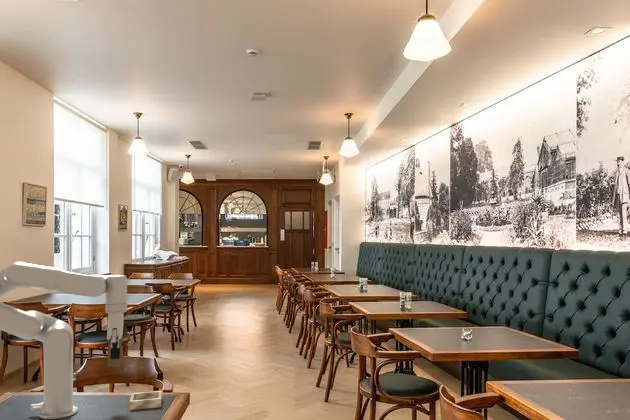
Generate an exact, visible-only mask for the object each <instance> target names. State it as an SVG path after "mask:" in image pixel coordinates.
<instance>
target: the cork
mask: <svg viewBox="0 0 630 420" xmlns="http://www.w3.org/2000/svg"><path fill="white" fill-rule="evenodd" d="M116 339H118V338H116ZM123 342H124V336H123V335H122V337H121V339H120V340H119V348H120V358H119V359H111V358H110V354H111V338H110V339H109V340H108V344H109V351H108V359H107V365H106V366H107V367H114V368H116V367H121V366H123V365H125V359H124V358H125V357H124V350H123Z"/></svg>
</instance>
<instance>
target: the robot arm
mask: <svg viewBox="0 0 630 420" xmlns="http://www.w3.org/2000/svg"><path fill="white" fill-rule="evenodd" d="M17 288H26V289H33V290H40V291H45V292H46V291H48V292H53V293H60V294H69V295H72V296H73V295H74V296H75V295H76V296H79V297H80V296H82V297H88V298H97V297H100V296H101V295H104V294H105V313H106V314H107V328H106V340H107V341H109V339H110V338H111V354H110V358H111V359H119V358H120V348H119V340H120V339H121V337H122V336H123V335H124V334H123V333H124V313H127V310H128V278H127V276H126V275H124V274H113V275H112V274H111V275H103V274H102V275H101V274H100V275H99V274H91V275H90V274H89V275H88V274H81V273H76V272H70V271H67V270H65V269H62V268H59V267H54V266H46V265H41V264H40V265H39V264H33V263H27V262H24V261H14V262H12V263H9V264H8V265H7V266H6V267H4V268H3V269H1V270H0V298H2V297H3V296H5V295H8V294H9V293H11V292H13V291H14V290H16V289H17ZM0 331H2V332H6V333H7V334H11V335H12V336H16V337H17V338H20V339H22V340H29V341H30V340H36V341H39V342H42V343H43V344H42V345H43V346H42V348H43V350H42V351H43V402H40V403H31V404H30V409H29V410H30V411H32V412H36V411H39V412H38V417H39V418H41V419H44V420H56V419H62V418H63V419H64V418H68V417H70V416H72V415H75V414H76V413H77V412H78V409H79V408H78V407H77V406H76V405H74V360H73V359H74V330H73V328H72V326H71V325H70V324H69V323H68V322H67V321H64V320H62V319H58V318H56V317H53V316H51V315H48V314H45V313H44V312H41V311H38V310H32V309H31V310H25V311H24V310H23V309H19V308H16V307H14V306H13V305H9V304H6V303H3V302H1V301H0ZM116 338H118V339H116Z"/></svg>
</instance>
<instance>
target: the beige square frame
mask: <svg viewBox="0 0 630 420" xmlns="http://www.w3.org/2000/svg"><path fill="white" fill-rule="evenodd" d="M162 393H163V391H162V390H155V391H153V390H152V391H145V392H134V393H131V396H130V400H129V410H130V411H133V410H135V411H136V410H145V409H155V408H162V403H163V402H162V401H163V394H162Z"/></svg>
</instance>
